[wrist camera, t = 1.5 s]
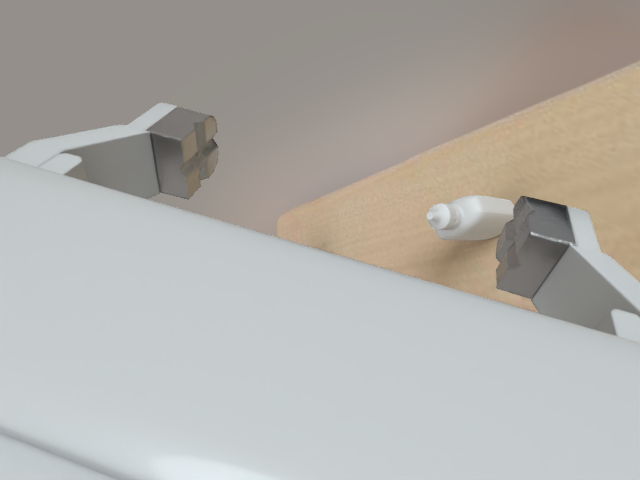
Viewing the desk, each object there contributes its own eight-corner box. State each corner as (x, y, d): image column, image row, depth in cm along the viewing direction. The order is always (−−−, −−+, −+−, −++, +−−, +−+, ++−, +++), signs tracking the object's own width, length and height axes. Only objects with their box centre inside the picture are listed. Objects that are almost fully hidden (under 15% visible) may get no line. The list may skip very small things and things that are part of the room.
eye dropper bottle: (470, 201, 49) (404, 193, 41) (520, 199, 44) (458, 189, 36) (469, 240, 49) (404, 239, 41) (519, 241, 44) (457, 240, 36)
